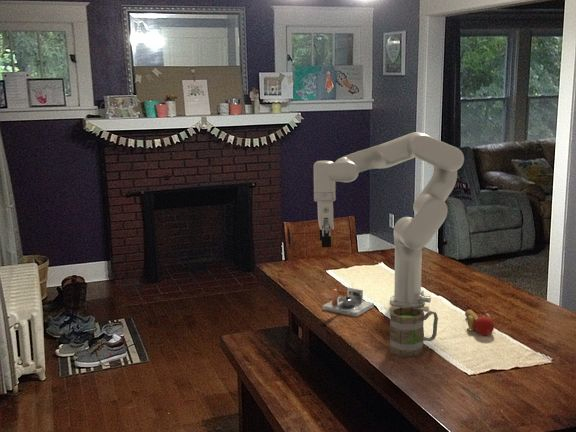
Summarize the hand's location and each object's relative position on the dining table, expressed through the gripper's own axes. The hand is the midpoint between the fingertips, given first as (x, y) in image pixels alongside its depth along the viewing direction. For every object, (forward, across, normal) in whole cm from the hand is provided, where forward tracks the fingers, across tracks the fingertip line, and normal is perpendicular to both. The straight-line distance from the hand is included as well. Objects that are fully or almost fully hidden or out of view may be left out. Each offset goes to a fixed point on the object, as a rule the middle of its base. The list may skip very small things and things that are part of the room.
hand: (325, 243), depth 232 cm
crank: (+22, -5, -5) cm, 23 cm away
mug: (+24, -40, -24) cm, 52 cm away
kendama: (+24, -24, -48) cm, 59 cm away
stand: (+24, -2, -8) cm, 25 cm away
